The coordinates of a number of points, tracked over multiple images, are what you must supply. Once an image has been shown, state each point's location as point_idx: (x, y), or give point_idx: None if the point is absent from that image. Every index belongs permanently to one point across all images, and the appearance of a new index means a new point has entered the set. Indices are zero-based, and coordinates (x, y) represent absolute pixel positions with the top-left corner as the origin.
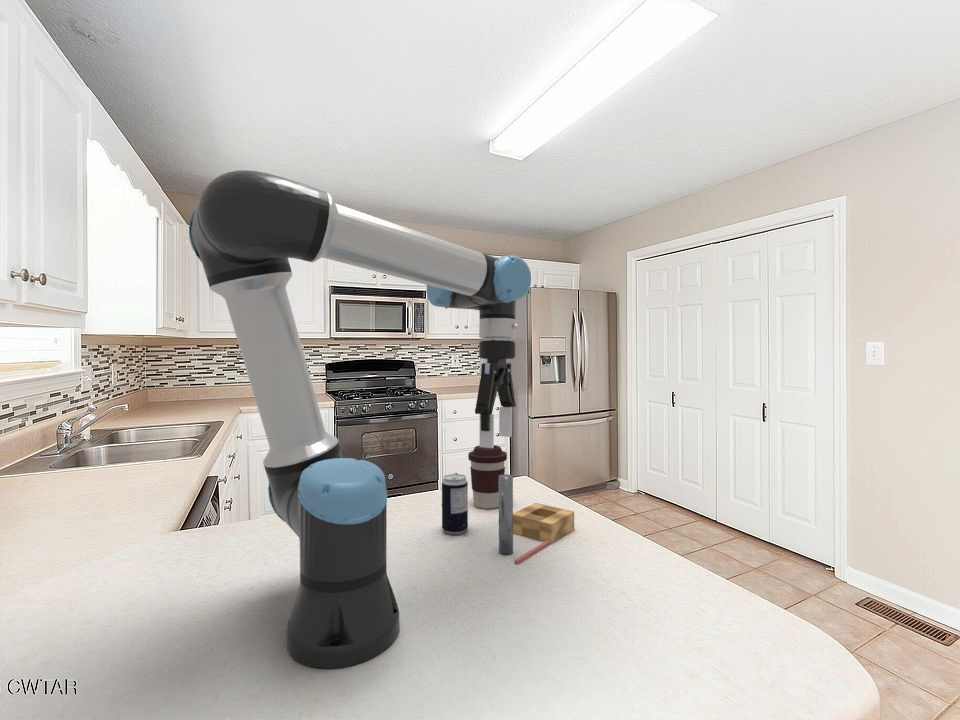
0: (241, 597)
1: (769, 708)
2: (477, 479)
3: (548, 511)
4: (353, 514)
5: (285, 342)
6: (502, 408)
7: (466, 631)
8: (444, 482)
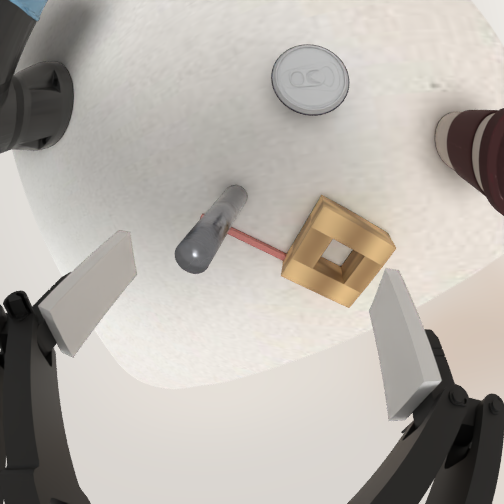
0: None
1: (105, 345)
2: (463, 126)
3: (353, 269)
4: None
5: None
6: (411, 387)
7: (73, 195)
8: (282, 55)
